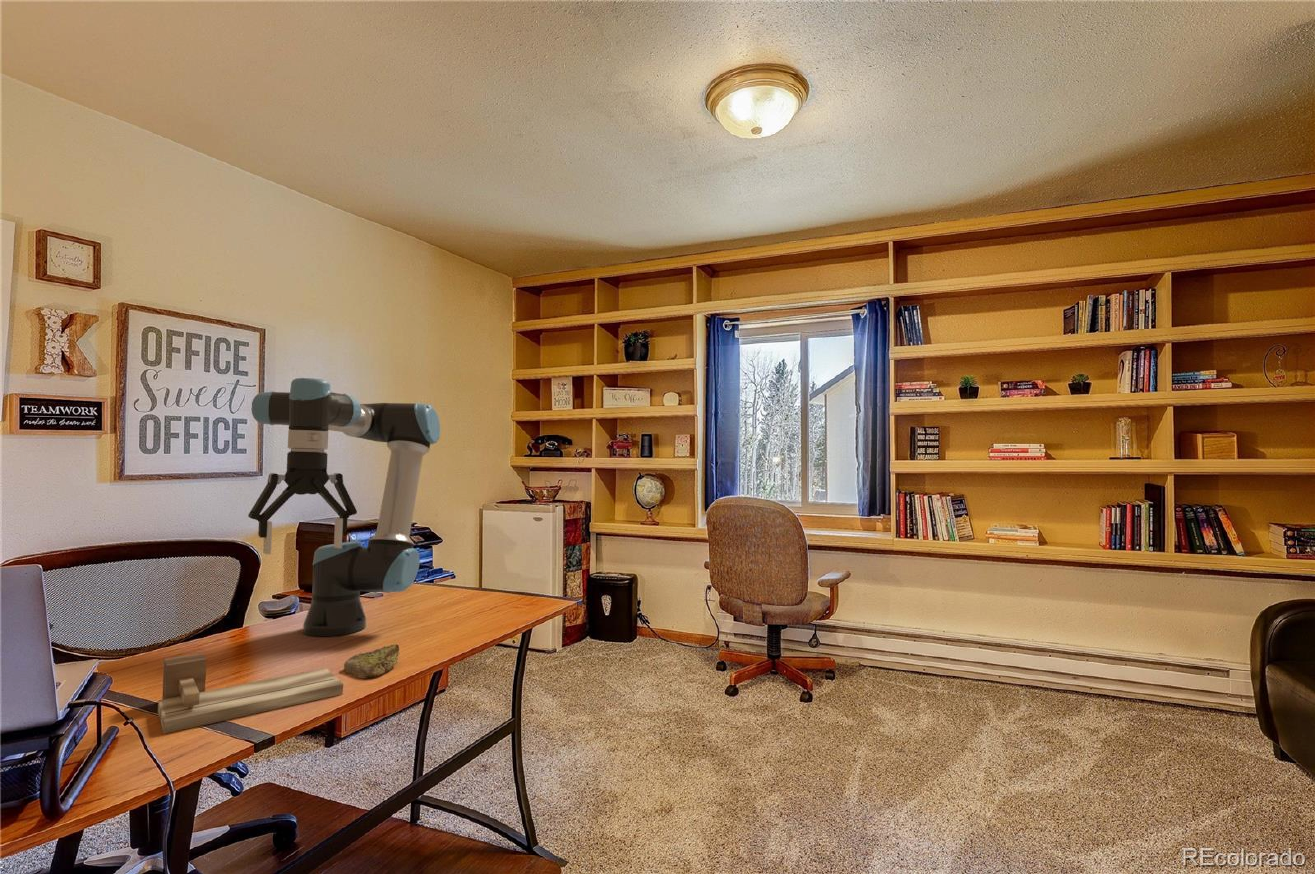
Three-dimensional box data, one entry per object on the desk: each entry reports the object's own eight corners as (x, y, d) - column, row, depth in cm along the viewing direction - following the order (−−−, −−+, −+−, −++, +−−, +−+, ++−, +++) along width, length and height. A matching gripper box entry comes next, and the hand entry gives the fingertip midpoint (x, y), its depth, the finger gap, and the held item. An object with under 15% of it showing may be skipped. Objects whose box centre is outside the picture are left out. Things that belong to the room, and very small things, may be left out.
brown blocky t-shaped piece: (162, 701, 118) (164, 659, 118) (201, 693, 122) (202, 652, 122) (169, 728, 107) (171, 681, 107) (212, 718, 111) (214, 673, 111)
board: (157, 711, 113) (158, 700, 113) (325, 677, 132) (326, 667, 132) (163, 734, 104) (164, 721, 104) (342, 694, 123) (343, 683, 123)
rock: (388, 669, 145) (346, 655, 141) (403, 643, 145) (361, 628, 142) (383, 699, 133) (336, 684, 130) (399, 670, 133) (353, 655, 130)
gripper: (243, 449, 121) (238, 558, 120) (374, 452, 139) (370, 547, 138) (234, 449, 126) (229, 553, 126) (361, 452, 144) (358, 543, 143)
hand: (303, 550), depth 132 cm, fingers open, 13 cm apart
